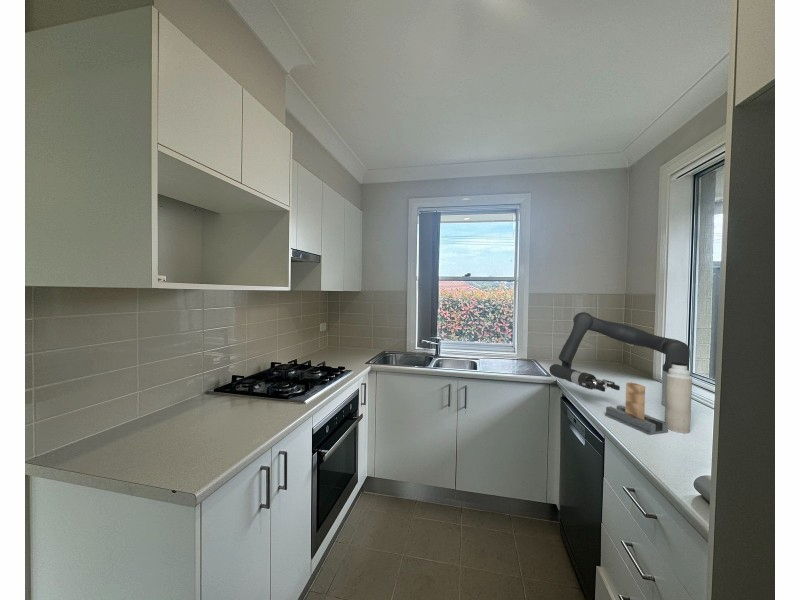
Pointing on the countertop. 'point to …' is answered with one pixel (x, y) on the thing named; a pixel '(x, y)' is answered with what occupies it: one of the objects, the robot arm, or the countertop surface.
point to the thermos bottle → (678, 398)
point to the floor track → (637, 421)
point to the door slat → (635, 400)
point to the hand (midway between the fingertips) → (611, 388)
